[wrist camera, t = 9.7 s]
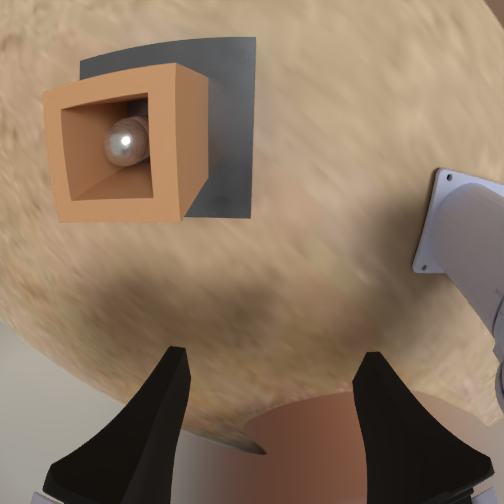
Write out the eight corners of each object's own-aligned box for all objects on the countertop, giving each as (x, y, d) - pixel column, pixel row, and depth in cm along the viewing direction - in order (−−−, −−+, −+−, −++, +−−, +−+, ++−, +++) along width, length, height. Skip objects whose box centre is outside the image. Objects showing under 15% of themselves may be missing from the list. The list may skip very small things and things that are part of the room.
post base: (256, 43, 12) (254, 6, 7) (251, 208, 17) (247, 267, 12) (92, 62, 12) (23, 57, 7) (103, 208, 17) (49, 257, 12)
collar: (208, 77, 12) (175, 62, 7) (208, 177, 15) (180, 222, 10) (112, 88, 12) (43, 92, 7) (118, 179, 15) (59, 222, 10)
